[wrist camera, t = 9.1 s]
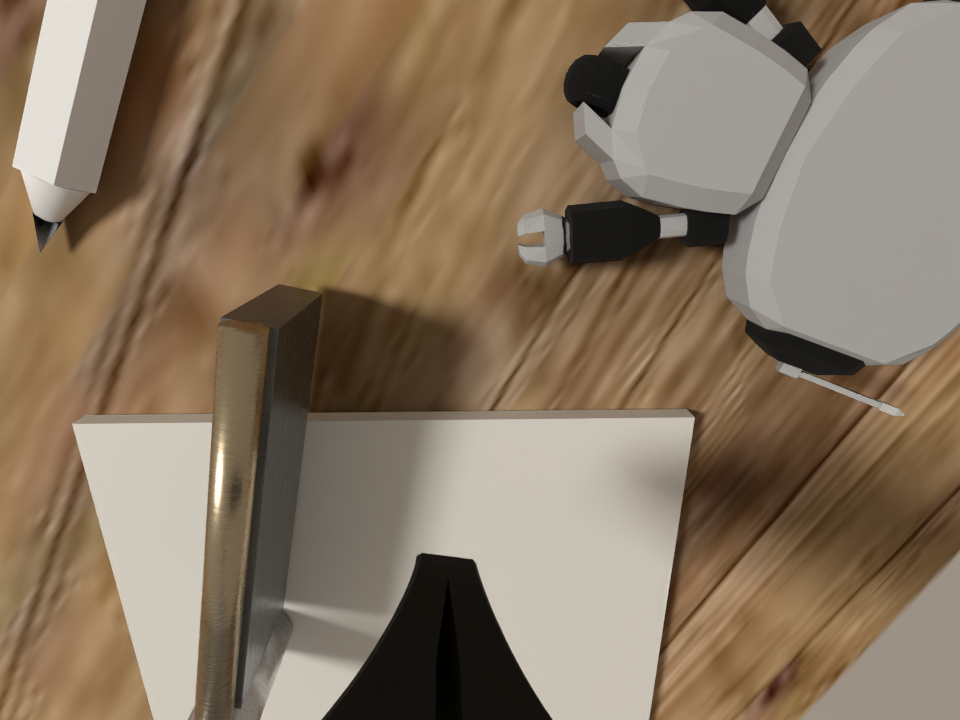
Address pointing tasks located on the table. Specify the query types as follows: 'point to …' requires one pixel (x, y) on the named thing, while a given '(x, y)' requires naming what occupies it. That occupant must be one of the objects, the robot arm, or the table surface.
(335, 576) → the gate board
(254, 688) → the gate post
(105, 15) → the marker
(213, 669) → the gate
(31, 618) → the table surface
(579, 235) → the robot toy
